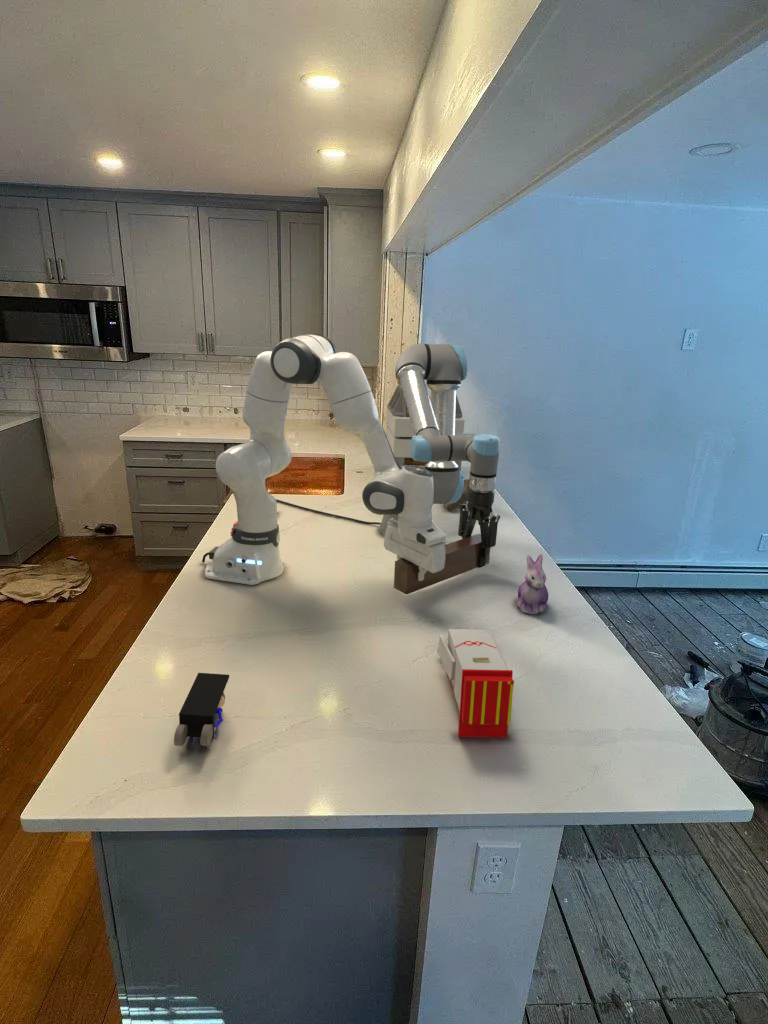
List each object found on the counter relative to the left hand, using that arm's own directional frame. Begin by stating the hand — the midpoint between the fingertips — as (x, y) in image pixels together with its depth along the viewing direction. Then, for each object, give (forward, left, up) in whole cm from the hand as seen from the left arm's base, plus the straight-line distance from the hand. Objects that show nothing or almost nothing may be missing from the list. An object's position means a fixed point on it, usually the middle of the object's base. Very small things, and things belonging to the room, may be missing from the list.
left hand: (411, 575), depth 153 cm
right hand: (+19, +17, -3) cm, 26 cm away
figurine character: (-39, -54, -7) cm, 67 cm away
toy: (+12, -39, -7) cm, 41 cm away
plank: (+10, +9, -4) cm, 13 cm away
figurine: (+33, -1, -7) cm, 34 cm away
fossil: (+21, +83, -7) cm, 86 cm away
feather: (-49, +60, -7) cm, 78 cm away
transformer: (+7, +127, -7) cm, 128 cm away
